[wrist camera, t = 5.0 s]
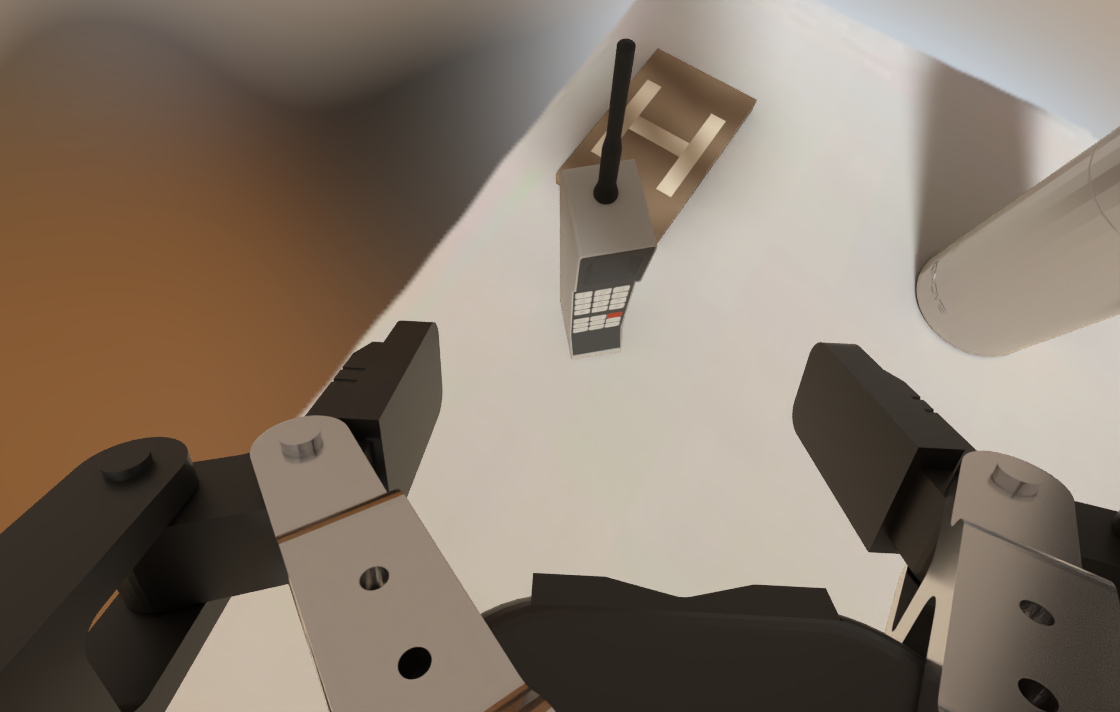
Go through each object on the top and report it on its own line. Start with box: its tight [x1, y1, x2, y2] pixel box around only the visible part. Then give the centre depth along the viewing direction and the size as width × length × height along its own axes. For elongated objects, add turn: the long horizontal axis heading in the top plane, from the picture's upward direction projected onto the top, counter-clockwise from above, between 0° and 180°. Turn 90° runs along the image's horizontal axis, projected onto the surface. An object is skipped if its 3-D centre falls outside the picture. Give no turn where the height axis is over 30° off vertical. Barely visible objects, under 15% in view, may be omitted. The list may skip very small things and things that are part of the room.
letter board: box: [556, 49, 757, 243], centre depth 45 cm, size 16×10×1 cm, turn 145°
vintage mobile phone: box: [560, 39, 657, 360], centre depth 29 cm, size 4×5×25 cm
